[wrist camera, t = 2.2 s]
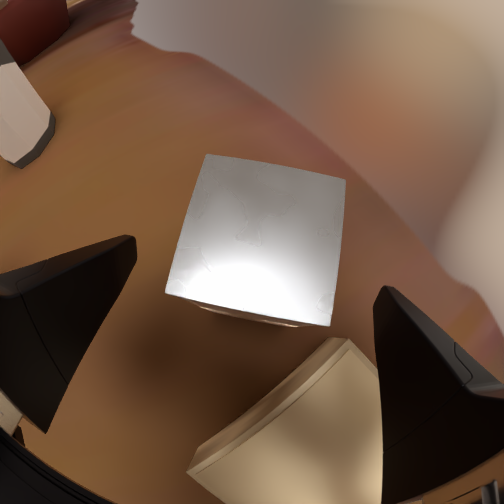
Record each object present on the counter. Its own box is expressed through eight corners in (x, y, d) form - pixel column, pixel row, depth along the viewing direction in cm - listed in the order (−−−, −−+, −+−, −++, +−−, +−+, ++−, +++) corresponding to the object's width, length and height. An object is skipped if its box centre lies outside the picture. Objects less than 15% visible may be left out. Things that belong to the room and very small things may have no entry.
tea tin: (287, 327, 17) (329, 326, 8) (211, 312, 18) (164, 292, 8) (300, 254, 19) (345, 179, 9) (228, 240, 19) (206, 153, 9)
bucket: (49, 56, 29) (6, -29, 5) (-13, 95, 29) (-57, 34, 5) (91, 9, 36) (68, -58, 12) (30, 40, 36) (2, -14, 12)
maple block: (306, 525, 13) (315, 554, 9) (198, 446, 15) (185, 473, 11) (418, 431, 15) (448, 445, 11) (328, 336, 17) (349, 338, 13)
